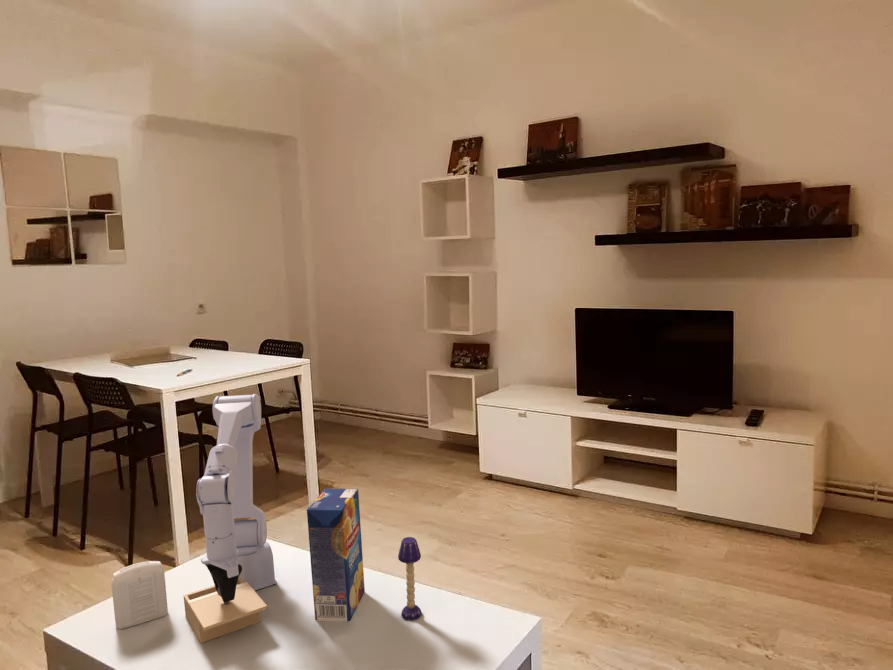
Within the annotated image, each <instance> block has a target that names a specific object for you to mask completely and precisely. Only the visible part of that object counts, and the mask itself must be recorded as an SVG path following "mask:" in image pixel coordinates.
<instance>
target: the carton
mask: <svg viewBox="0 0 893 670" xmlns="http://www.w3.org/2000/svg"><path fill="white" fill-rule="evenodd" d="M241 583H244V582H243V581H242V579H241V578H238V581H237V585H238V584H241ZM213 592H217V591H216V588H215V585H211V586H208V587H206V588H203V589H198V590H196V591H193V592H190V593H186V594H184V595H183V602H184V604H183V605H184V614H185V615H184V616H185V619H186V620H187V622H188V623H189V626H190V627H191V628H192V630H193V632H194V633H195V635H196V637H197V639H198V641H199V642H200V643H201V644H202V643H205V642H208V641H211V640H214V639H216V638H219V637H222V636H225V635H227V634H230V633H233V632H235V631H238V630H240V629H245V628H248V627H250V626H252V625H255V624H258V623H260V622H261V615H260V611H259V612H256V613H253V614H250V615H247V616H245V617H242V618H239V619H236V620H233V621H230V622H227V623H225V624H222V625H219V626H216V627H213V628H210V629H207V630H205V631H204V630H203V628H202V626H201V625H200V623H199V622H198V620H197V618H196V617H195V615H194V613H193V612H192V610H191V608H190V607H189V605H188V602H187V601H189V600H192V599H195V598H198V597H201V596H204V595H207V594H210V593H213Z"/></svg>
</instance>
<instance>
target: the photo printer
mask: <svg viewBox="0 0 893 670" xmlns="http://www.w3.org/2000/svg"><path fill="white" fill-rule="evenodd" d="M111 591H112V601H113V611H114V620H115V621H114V622H115V628H116V629H119V630H121V629H126V628H130V627H133V626H136V625H139V624H140V625H141V624H143V623H147V622H150V621H151V620H152V621H153V620H157V619H159V618H162V617H165V616H167V614H168V613H169V609H168V608H169V607H168V599H167V597H168V596H167V587H166V575H165V570H164V567H163V565H162V562H161V561H158V560H148V561H147V560H146V561H140V562H138V563H137V562H136V563H134V564H130V565H127V566H125V567H122V568H120V569H119V570H117V571H115V572H114V573H113V574H112V579H111Z"/></svg>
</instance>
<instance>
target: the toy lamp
mask: <svg viewBox="0 0 893 670" xmlns="http://www.w3.org/2000/svg"><path fill="white" fill-rule="evenodd" d="M421 557H422V555H421V551H420V547H419V543H418V541H417V539H416V538H415V537H413V536H407V537H403V538H402V539H401V543H400V546H399V550H398V555H397V559H398V561H400V562H401V563H403V564H405V570H406V575H405V577H406V605H405V606H404V607H403V608H402V610H401V614H400V615H401V618H402V619H404V620H406V621H416V620H418V619H420V618H421V617H422V610H421V607H419V605H417V604H416V601H415V599H416V594H415V592H416V587H415V584H416V583H415V581H416V580H415V565H414V564H415V563H417V562H419V561H420V560H421Z"/></svg>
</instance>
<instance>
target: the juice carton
mask: <svg viewBox="0 0 893 670" xmlns="http://www.w3.org/2000/svg"><path fill="white" fill-rule="evenodd" d="M359 496H360V495H359V488H324V489H323V490H322V491H321V492H320V494H319V495H318V496H317V497H316V498H315V500H314V501H313V502H312V503H311V504H310V506H308V508H307V509H306V515H307V516H306V517H307V529H308V530H307V531H308V545H309V555H310V569H311V570H310V571H311V584H312V585H311V586H312V595H313V608H314V620H315V621H316V620H317V621H320V622H323V621H324V622H343V621H344V622H345V623H346V621H347V622H349V623H350V622H351V621H352V619H353V617H354V615H355V613H356V612H357V609H358V607H359V605H360V603H361V601H362V599H363V597H364V594H365V593H366V589H365V574H364V559H363V557H364V556H363V543H362V528H361V513H360V511H361V510H360V498H359Z"/></svg>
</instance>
